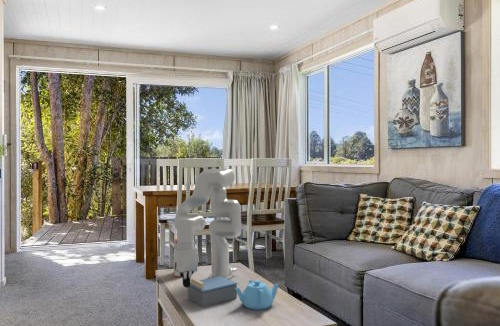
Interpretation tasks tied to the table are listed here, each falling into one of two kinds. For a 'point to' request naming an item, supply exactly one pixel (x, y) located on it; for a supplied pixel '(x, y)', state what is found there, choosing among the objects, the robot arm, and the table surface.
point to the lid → (211, 283)
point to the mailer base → (212, 295)
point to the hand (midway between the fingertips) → (186, 286)
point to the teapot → (257, 295)
